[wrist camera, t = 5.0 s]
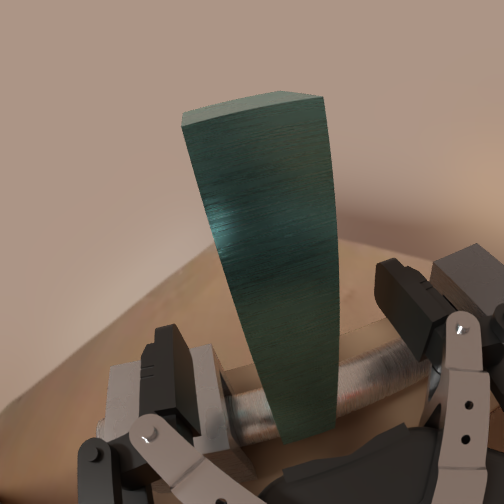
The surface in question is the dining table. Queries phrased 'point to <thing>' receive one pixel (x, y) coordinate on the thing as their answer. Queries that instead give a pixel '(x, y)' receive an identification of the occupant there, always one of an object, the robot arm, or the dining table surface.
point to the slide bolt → (284, 266)
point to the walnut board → (347, 426)
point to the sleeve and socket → (218, 386)
